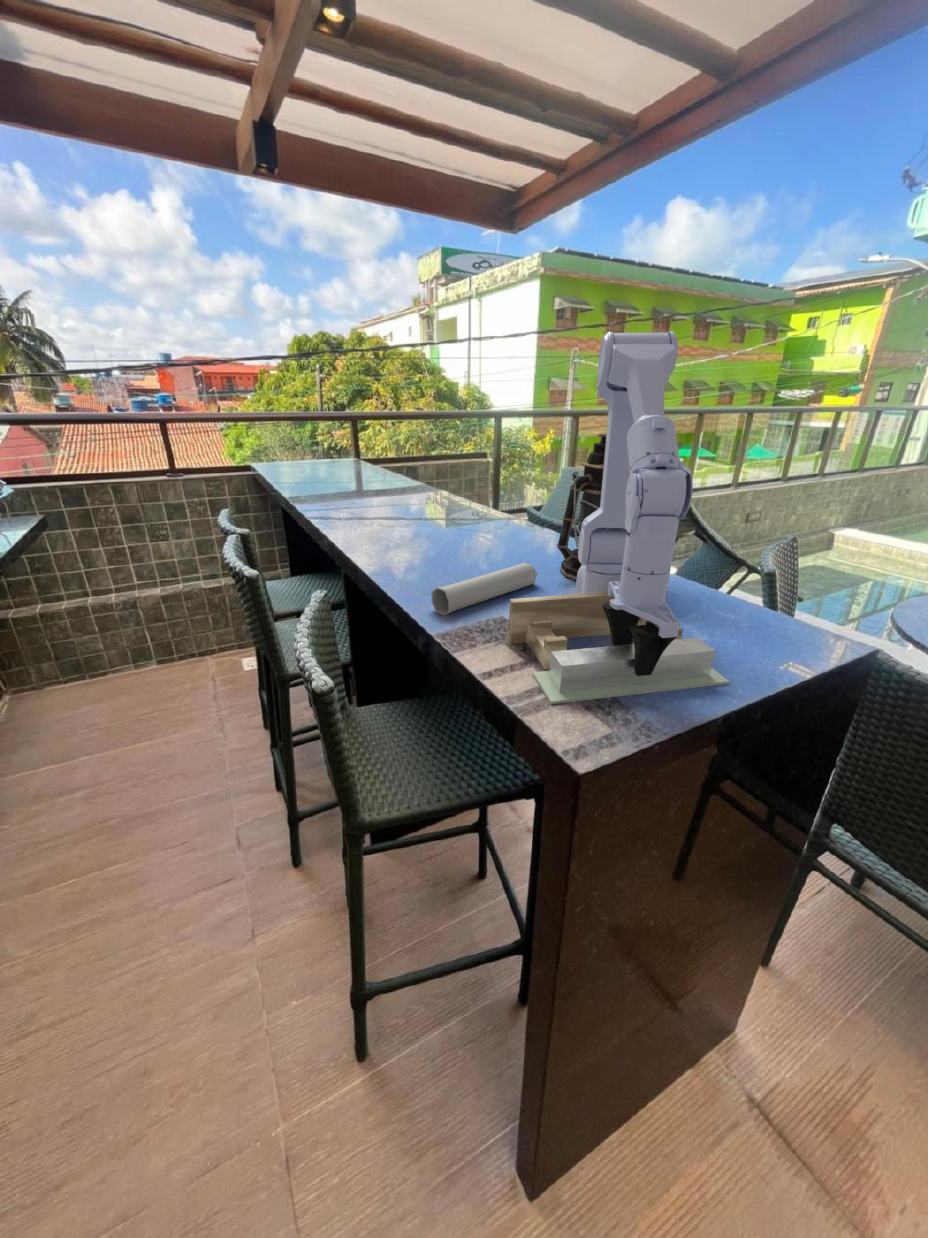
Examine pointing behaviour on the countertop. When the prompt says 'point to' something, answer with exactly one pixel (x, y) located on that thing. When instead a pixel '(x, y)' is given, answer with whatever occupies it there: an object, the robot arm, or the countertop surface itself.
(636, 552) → the robot arm
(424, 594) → the countertop surface
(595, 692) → the mat
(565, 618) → the rail stand
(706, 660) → the rail
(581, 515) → the lantern
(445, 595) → the tube
